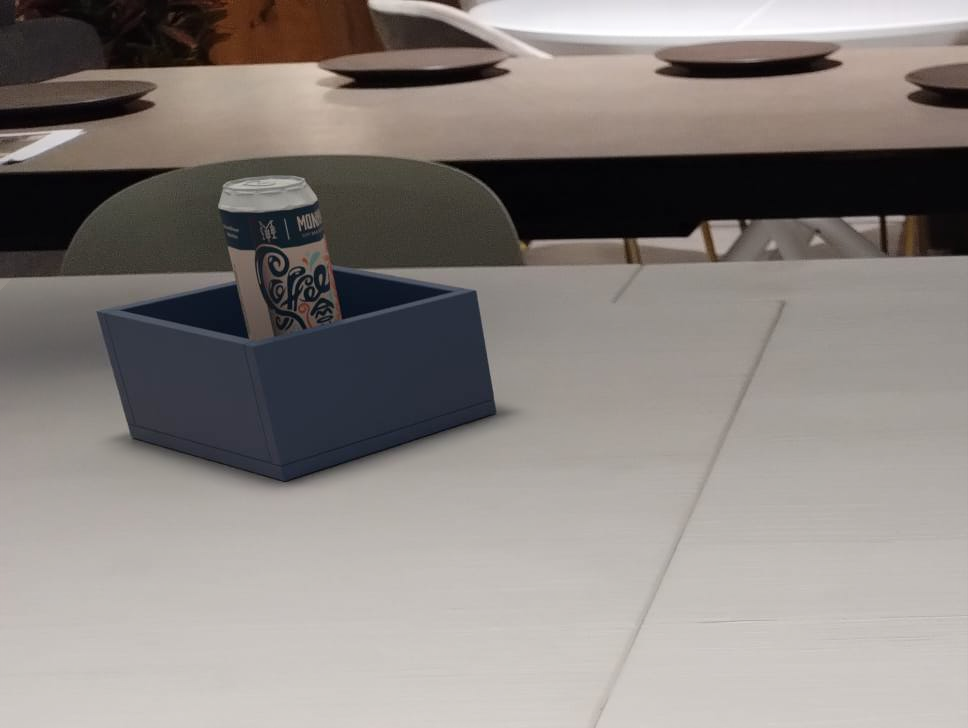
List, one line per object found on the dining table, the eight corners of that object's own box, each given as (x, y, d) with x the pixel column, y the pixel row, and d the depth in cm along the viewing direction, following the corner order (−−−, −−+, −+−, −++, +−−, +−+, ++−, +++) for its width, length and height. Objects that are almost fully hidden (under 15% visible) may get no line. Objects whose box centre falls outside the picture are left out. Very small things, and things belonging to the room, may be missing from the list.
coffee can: (313, 427, 89) (261, 193, 83) (247, 417, 91) (192, 186, 85) (379, 403, 93) (333, 177, 87) (314, 394, 95) (266, 171, 89)
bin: (130, 437, 91) (95, 311, 87) (344, 377, 100) (319, 262, 97) (284, 481, 84) (253, 346, 81) (497, 412, 94) (476, 290, 90)
